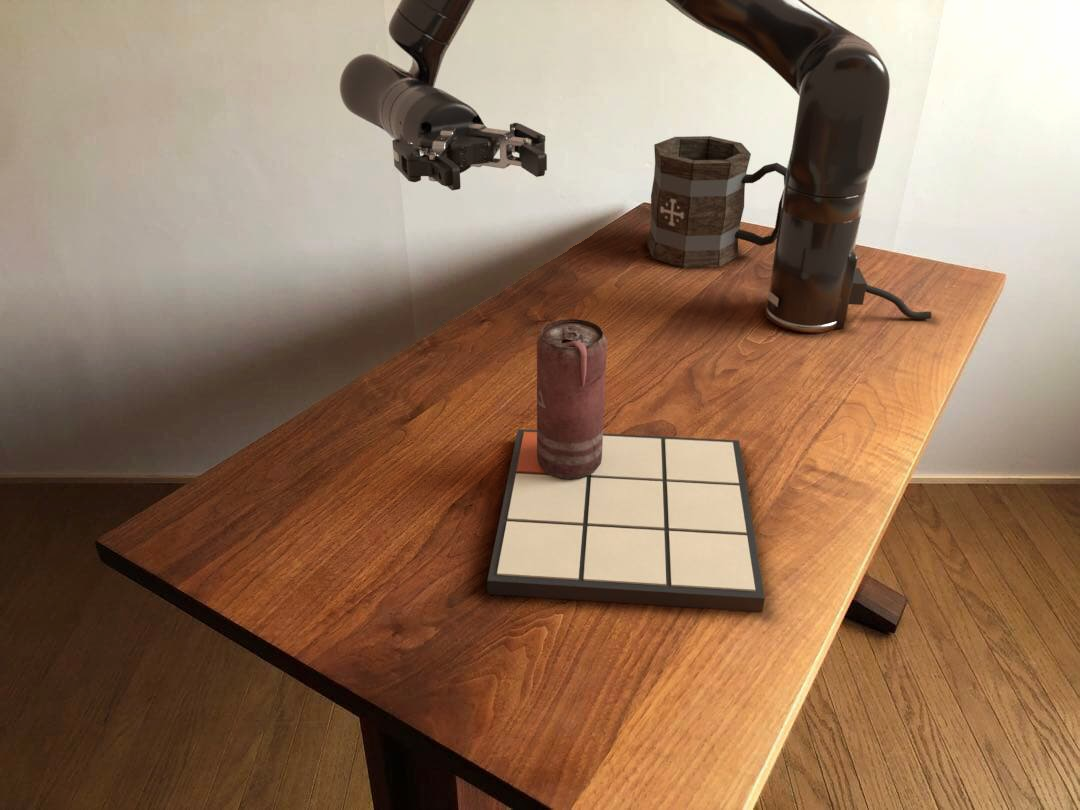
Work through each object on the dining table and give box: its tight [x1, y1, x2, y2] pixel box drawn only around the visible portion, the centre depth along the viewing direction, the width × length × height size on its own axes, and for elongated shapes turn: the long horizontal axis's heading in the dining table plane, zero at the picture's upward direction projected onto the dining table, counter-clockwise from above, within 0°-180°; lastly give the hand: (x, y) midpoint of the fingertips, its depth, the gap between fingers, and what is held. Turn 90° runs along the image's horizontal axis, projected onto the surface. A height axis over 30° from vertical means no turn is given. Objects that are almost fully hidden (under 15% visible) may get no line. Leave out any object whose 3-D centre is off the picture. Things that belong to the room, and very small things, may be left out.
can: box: [536, 318, 608, 480], centre depth 83 cm, size 6×6×14 cm
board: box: [486, 428, 766, 613], centre depth 82 cm, size 22×22×2 cm
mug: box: [646, 135, 787, 269], centre depth 130 cm, size 20×14×15 cm
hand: (500, 172), depth 83 cm, fingers open, 8 cm apart
